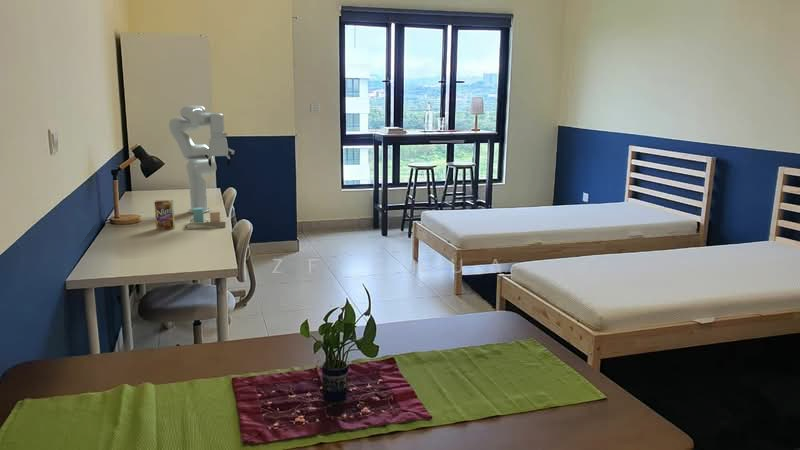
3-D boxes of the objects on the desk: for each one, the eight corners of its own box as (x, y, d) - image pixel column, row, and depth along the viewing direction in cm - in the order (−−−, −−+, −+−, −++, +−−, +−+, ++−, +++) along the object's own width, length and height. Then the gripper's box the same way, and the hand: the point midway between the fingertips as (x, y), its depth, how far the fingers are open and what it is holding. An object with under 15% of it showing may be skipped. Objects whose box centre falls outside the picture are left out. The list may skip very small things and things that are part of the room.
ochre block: (211, 225, 340) (210, 210, 338) (220, 224, 341) (219, 210, 339) (210, 227, 335) (209, 212, 333) (220, 226, 336) (219, 212, 334)
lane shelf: (188, 224, 340) (188, 219, 339) (225, 223, 344) (225, 217, 344) (187, 229, 330) (186, 223, 329) (225, 227, 335) (225, 221, 334)
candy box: (156, 229, 328) (153, 201, 325) (158, 227, 332) (155, 199, 329) (173, 229, 329) (171, 201, 326) (175, 227, 334) (173, 199, 330)
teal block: (195, 217, 357) (194, 204, 356) (204, 217, 359) (203, 203, 357) (194, 223, 343) (193, 209, 341) (203, 223, 344) (202, 209, 342)
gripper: (233, 134, 351) (235, 164, 355) (201, 135, 347) (203, 165, 351) (233, 135, 344) (235, 166, 348) (201, 136, 340) (203, 167, 344)
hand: (219, 166), depth 349 cm, fingers open, 9 cm apart
